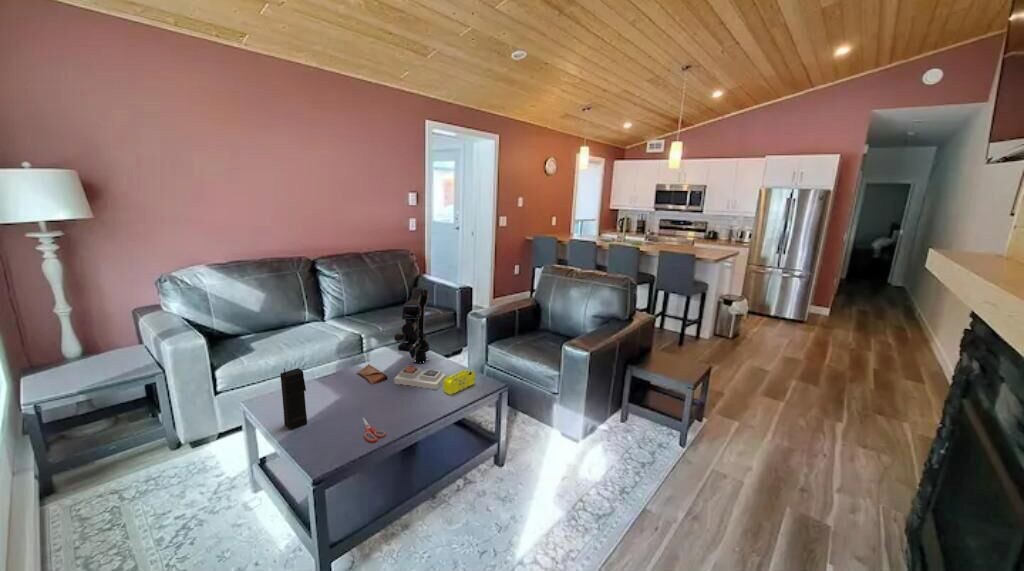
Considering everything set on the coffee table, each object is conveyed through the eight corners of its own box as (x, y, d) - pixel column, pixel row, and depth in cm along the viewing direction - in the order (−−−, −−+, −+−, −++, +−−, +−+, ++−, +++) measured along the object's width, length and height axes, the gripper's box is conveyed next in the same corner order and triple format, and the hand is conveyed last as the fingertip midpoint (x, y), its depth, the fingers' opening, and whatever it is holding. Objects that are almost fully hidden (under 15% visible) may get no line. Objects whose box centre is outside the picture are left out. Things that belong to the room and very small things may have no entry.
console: (406, 373, 215) (405, 364, 214) (446, 379, 210) (446, 369, 209) (394, 383, 203) (394, 373, 202) (436, 390, 198) (436, 380, 197)
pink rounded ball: (408, 370, 210) (408, 365, 209) (416, 371, 209) (416, 366, 208) (404, 374, 205) (404, 368, 205) (412, 375, 204) (412, 370, 204)
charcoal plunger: (428, 374, 207) (428, 369, 207) (437, 375, 206) (436, 370, 206) (424, 378, 203) (424, 373, 202) (433, 379, 202) (433, 374, 201)
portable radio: (303, 417, 172) (298, 360, 166) (310, 422, 168) (306, 364, 162) (283, 424, 166) (278, 366, 160) (290, 430, 162) (284, 371, 156)
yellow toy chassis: (451, 396, 193) (451, 380, 191) (442, 392, 197) (442, 376, 195) (475, 385, 205) (475, 369, 203) (467, 381, 209) (467, 366, 207)
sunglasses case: (354, 373, 213) (360, 361, 214) (365, 376, 218) (371, 364, 219) (372, 385, 201) (378, 372, 202) (383, 388, 206) (389, 375, 207)
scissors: (363, 415, 175) (363, 412, 175) (389, 437, 161) (389, 434, 161) (345, 422, 170) (345, 419, 169) (370, 445, 156) (370, 441, 155)
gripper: (406, 320, 214) (407, 349, 218) (387, 332, 197) (388, 363, 200) (426, 323, 212) (426, 351, 215) (409, 335, 194) (409, 366, 198)
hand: (412, 358), depth 207 cm, fingers closed
